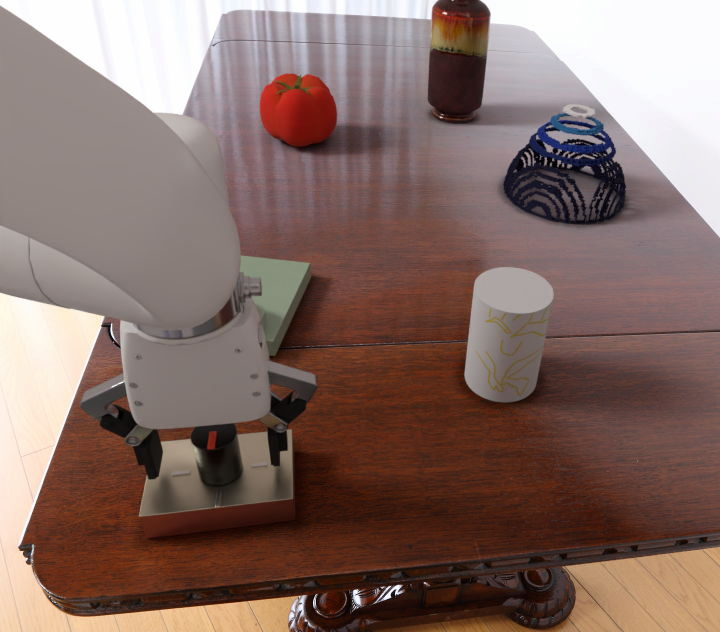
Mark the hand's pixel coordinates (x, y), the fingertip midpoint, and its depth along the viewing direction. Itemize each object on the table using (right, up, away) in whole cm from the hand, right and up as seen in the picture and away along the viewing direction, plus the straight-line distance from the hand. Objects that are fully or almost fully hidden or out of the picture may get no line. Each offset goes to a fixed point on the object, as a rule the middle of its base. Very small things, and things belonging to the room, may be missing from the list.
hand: (217, 460), depth 58 cm
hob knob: (0, -1, +1) cm, 1 cm away
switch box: (-4, +13, +24) cm, 28 cm away
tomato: (-9, +44, +64) cm, 78 cm away
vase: (+18, +53, +80) cm, 98 cm away
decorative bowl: (+37, +33, +56) cm, 75 cm away
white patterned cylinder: (+25, +5, +18) cm, 31 cm away
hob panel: (0, -3, +3) cm, 5 cm away
